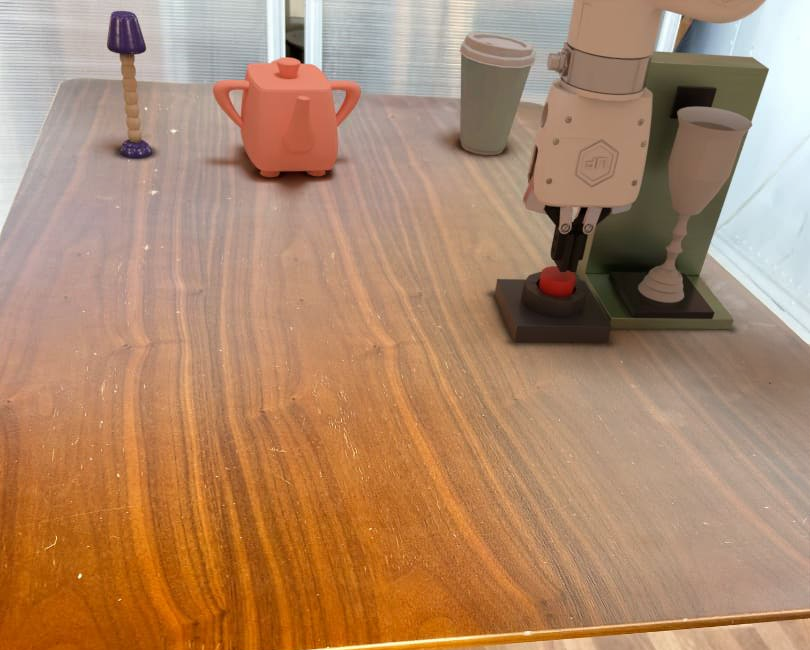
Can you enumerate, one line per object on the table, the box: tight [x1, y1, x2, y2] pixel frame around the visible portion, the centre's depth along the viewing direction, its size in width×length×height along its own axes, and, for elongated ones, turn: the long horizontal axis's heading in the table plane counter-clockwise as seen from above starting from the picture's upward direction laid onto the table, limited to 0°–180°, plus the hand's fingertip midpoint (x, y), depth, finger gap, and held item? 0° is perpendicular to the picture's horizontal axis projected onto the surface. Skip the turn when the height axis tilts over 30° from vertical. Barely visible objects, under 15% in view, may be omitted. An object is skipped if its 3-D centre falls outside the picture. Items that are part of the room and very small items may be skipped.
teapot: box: [212, 56, 362, 178], centre depth 115 cm, size 17×16×13 cm
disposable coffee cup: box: [459, 31, 536, 156], centre depth 125 cm, size 11×11×15 cm
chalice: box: [638, 107, 753, 303], centre depth 90 cm, size 7×7×18 cm
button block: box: [494, 271, 613, 344], centre depth 93 cm, size 10×10×4 cm
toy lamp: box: [106, 10, 154, 160], centre depth 112 cm, size 5×5×17 cm
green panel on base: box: [575, 50, 770, 330], centre depth 92 cm, size 14×14×24 cm
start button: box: [539, 265, 577, 296], centre depth 91 cm, size 4×4×2 cm
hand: (564, 265), depth 90 cm, fingers closed
